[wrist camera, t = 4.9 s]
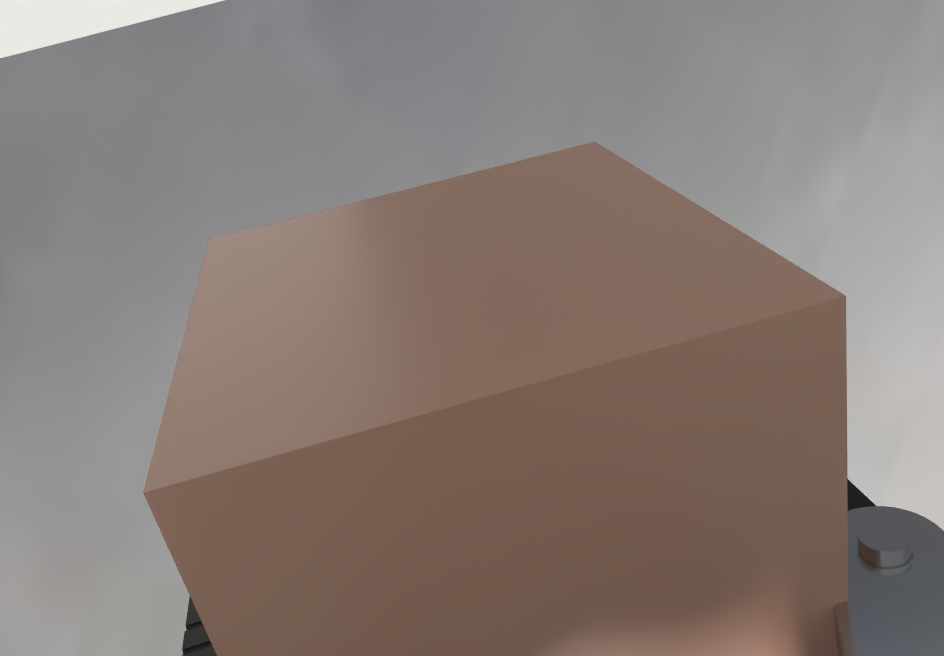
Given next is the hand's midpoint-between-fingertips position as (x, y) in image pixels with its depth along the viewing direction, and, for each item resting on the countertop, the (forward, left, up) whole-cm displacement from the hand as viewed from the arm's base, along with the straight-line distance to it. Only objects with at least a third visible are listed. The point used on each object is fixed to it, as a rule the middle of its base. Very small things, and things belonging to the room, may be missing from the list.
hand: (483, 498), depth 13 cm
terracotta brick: (0, 0, -1) cm, 1 cm away
